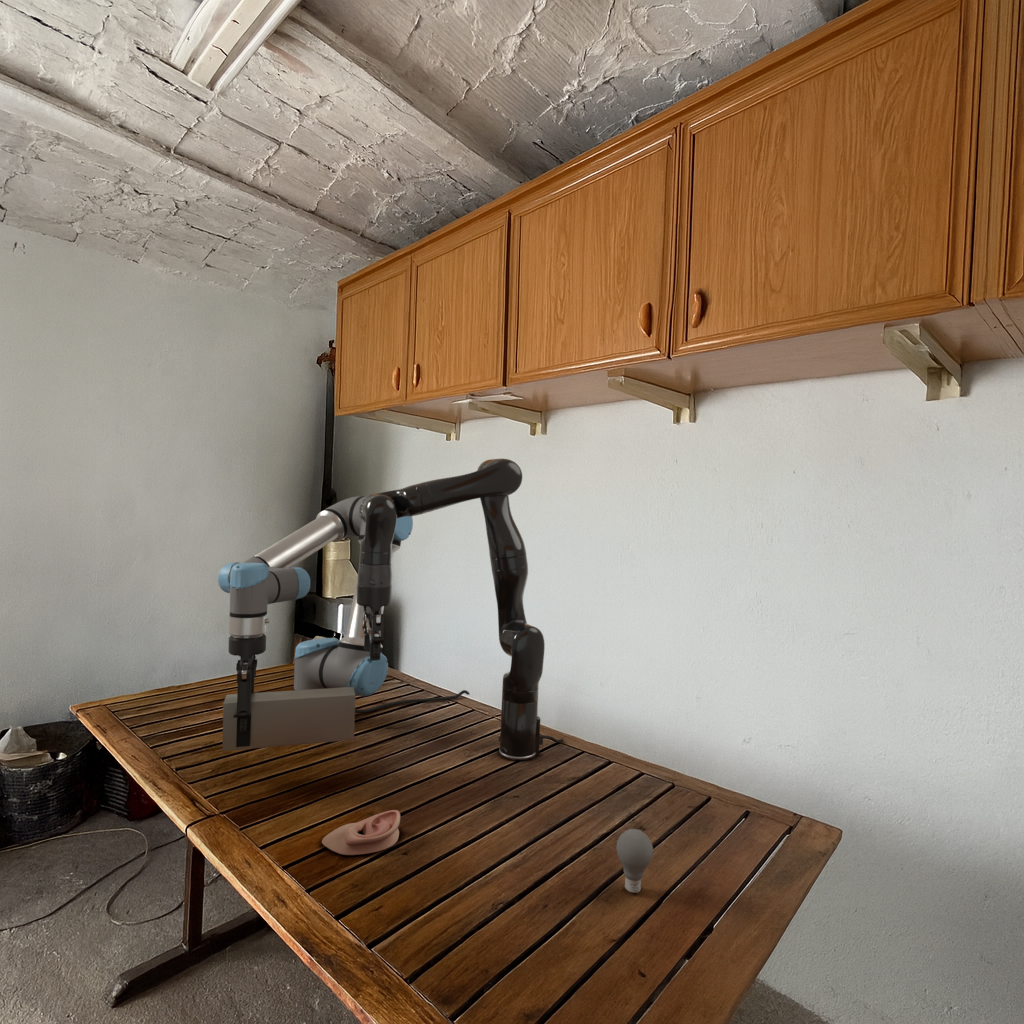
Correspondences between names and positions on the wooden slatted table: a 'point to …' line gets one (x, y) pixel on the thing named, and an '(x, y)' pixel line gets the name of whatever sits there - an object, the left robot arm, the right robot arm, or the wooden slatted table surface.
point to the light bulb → (634, 857)
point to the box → (293, 718)
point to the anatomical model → (365, 835)
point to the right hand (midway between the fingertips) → (371, 655)
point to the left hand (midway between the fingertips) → (244, 739)
